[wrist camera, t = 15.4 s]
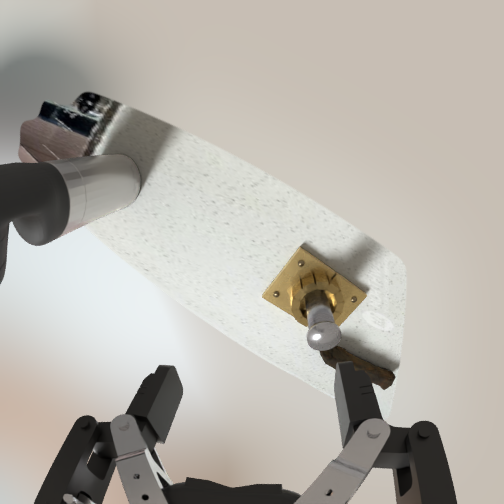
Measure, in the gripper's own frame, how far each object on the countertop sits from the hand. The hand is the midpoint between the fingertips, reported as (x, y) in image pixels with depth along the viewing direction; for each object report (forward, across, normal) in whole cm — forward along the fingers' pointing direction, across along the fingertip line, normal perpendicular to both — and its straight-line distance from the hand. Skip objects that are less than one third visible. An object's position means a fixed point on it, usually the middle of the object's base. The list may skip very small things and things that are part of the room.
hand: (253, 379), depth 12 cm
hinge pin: (+29, -6, +12) cm, 32 cm away
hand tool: (+31, -14, +28) cm, 44 cm away
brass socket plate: (+30, -6, +12) cm, 33 cm away
